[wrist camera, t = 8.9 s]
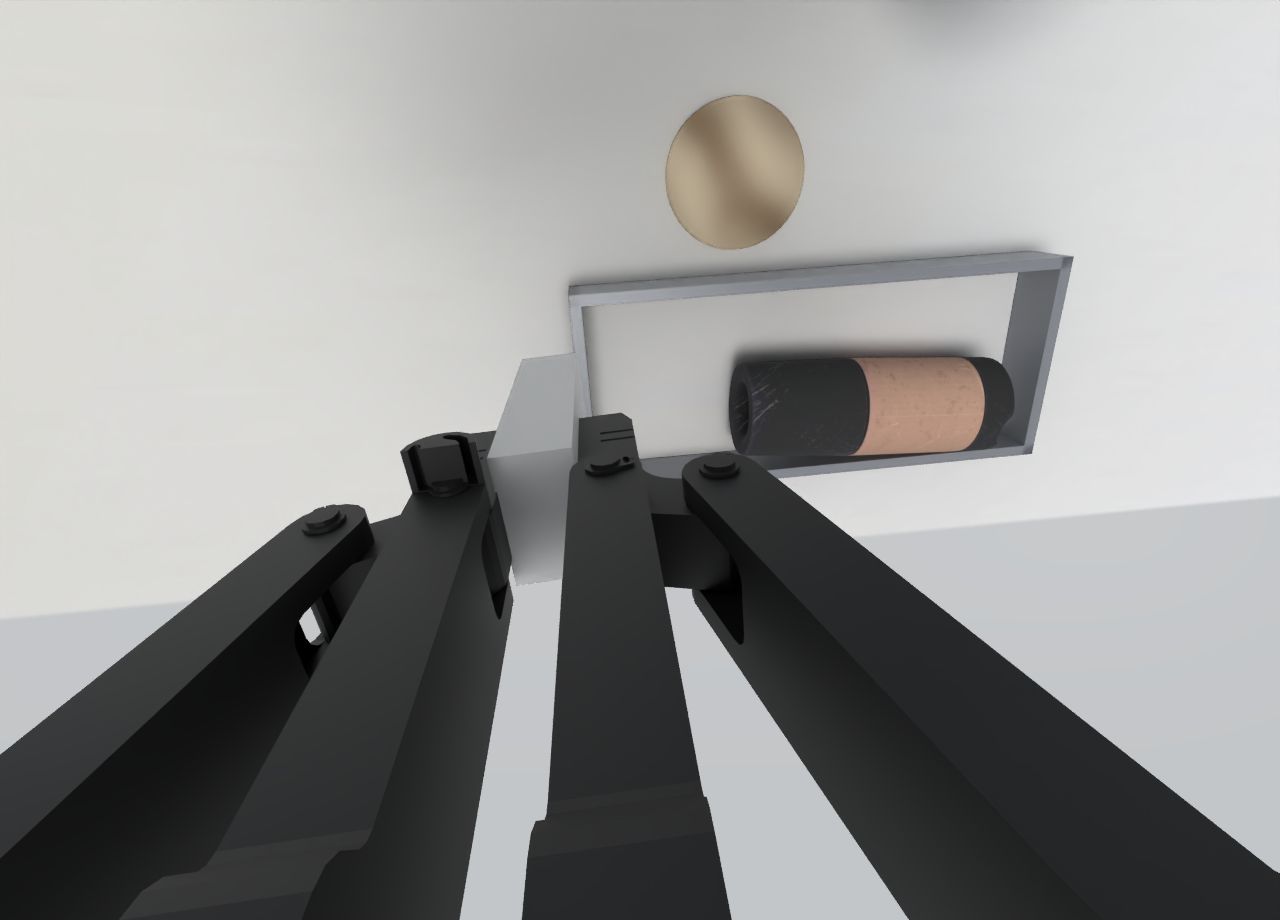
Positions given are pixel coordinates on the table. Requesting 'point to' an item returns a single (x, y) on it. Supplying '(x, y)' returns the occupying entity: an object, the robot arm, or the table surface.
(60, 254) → the table surface
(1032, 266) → the tray
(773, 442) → the travel mug
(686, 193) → the cork coaster
